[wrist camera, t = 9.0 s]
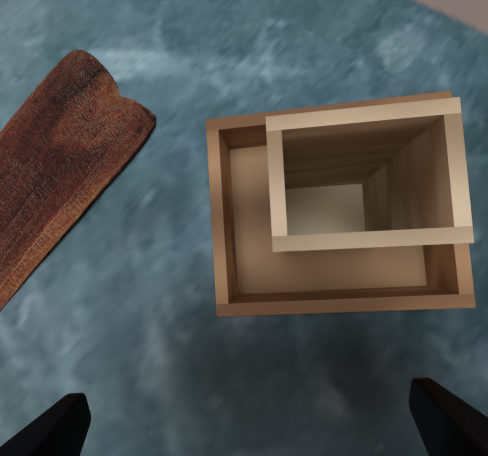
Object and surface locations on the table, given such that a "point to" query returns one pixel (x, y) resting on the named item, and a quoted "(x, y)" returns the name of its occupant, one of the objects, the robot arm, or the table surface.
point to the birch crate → (369, 177)
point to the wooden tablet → (61, 159)
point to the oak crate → (311, 261)
